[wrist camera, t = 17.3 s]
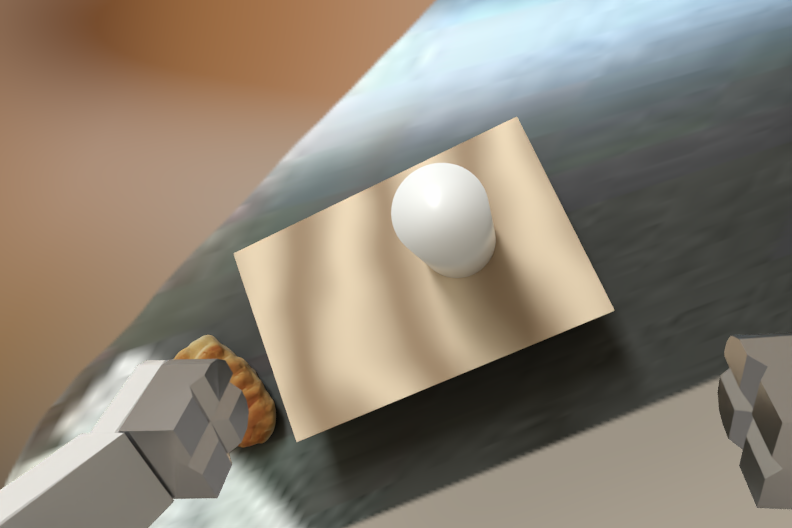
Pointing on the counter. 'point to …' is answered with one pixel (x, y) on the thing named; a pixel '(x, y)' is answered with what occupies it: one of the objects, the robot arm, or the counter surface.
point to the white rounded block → (445, 219)
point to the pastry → (245, 380)
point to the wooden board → (414, 290)
